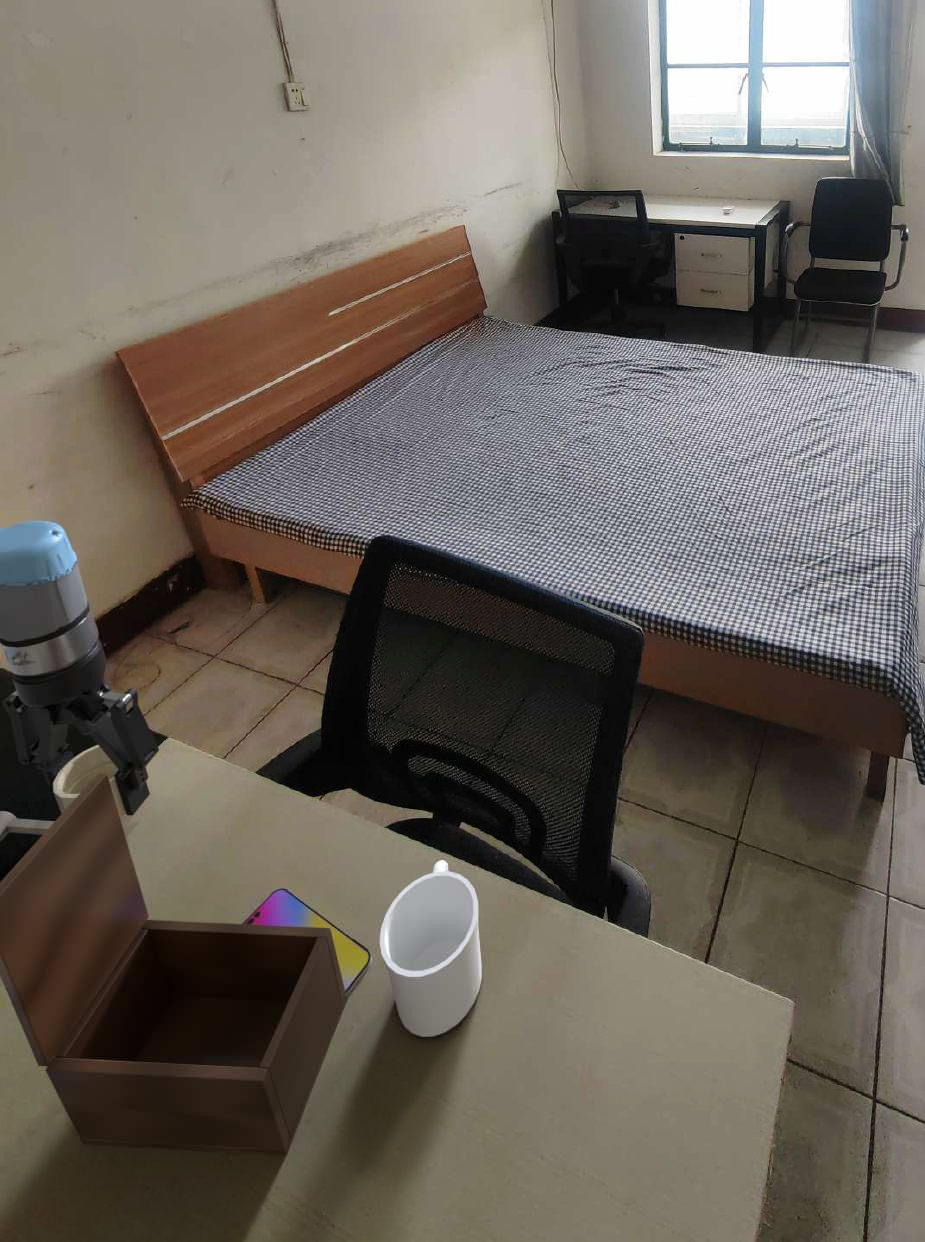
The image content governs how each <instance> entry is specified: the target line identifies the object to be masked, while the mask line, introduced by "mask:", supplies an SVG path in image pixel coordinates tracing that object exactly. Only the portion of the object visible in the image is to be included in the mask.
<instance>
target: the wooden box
mask: <svg viewBox="0 0 925 1242" xmlns="http://www.w3.org/2000/svg"><path fill="white" fill-rule="evenodd" d="M347 1001H348V996H346V992H345V988H344V984H343V980H342V976H341V971H340V967H339V963H338V959H337V954H336V950H335V946H334V942H333V937H332V933H331V929H330V928H318V927H296V926H274V925H252V924H242V923H227V922H209V921H208V922H205V921H185V920H161V919H160V920H159V919H147V920H146V922H145V923H144V925H143V926H142V928H141V929H140V931H139V932H138V933H137V935H136V936H135V938H134V939H133V941H132V942H131V944H130V945H129V947H128V948H127V950H126V951H125V953H124V954H123V956H122V957H121V959H120V960H119V962H118V963H117V965H116V966H115V968H114V969H113V971H112V972H111V974H110V975H109V977H108V978H107V979H106V981H105V982H104V984H103V985H102V987H101V988H100V990H99V991H98V993H97V994H96V996H95V997H94V999H93V1000H92V1002H91V1003H90V1005H89V1006H88V1008H87V1009H86V1011H85V1012H84V1014H83V1015H82V1017H81V1018H80V1020H79V1021H78V1022H77V1024H76V1025H75V1027H74V1028H73V1030H72V1031H71V1033H70V1034H69V1036H68V1037H67V1039H66V1040H65V1042H64V1043H63V1045H62V1046H61V1048H60V1049H59V1051H58V1052H57V1054H56V1055H55V1057H54V1058H53V1060H52V1061H51V1063H50V1064H49V1065H48V1066H47V1067H46V1068H45V1073H46V1075H47V1076H48V1079H49V1081H50V1082H51V1084H52V1086H53V1088H54V1091H55V1092H56V1094H57V1097H58V1098H59V1100H60V1102H61V1104H62V1106H63V1108H64V1110H65V1113H66V1114H67V1116H68V1118H69V1120H70V1122H71V1124H72V1126H73V1128H74V1130H75V1132H76V1135H77V1136H78V1138H79V1140H80V1143H81V1145H84V1146H85V1145H86V1146H87V1145H88V1146H104V1147H105V1146H106V1147H122V1148H123V1147H125V1148H140V1149H141V1148H143V1149H158V1150H159V1149H160V1150H161V1149H162V1150H177V1151H178V1150H179V1151H180V1150H181V1151H198V1152H216V1153H217V1152H218V1153H219V1152H220V1153H233V1154H234V1153H235V1154H236V1153H237V1154H251V1155H252V1154H253V1155H254V1154H255V1155H271V1156H272V1155H273V1156H287V1155H288V1152H289V1150H290V1147H291V1144H292V1142H293V1140H294V1137H295V1134H296V1132H297V1130H298V1127H299V1125H300V1122H301V1118H302V1116H303V1114H304V1111H305V1109H306V1107H307V1103H308V1102H309V1099H310V1096H311V1093H312V1091H313V1089H314V1085H315V1084H316V1080H317V1078H318V1075H319V1073H320V1070H321V1068H322V1065H323V1063H324V1060H325V1058H326V1056H327V1052H328V1049H329V1047H330V1045H331V1042H332V1040H333V1037H334V1034H335V1031H336V1029H337V1026H338V1024H339V1021H340V1019H341V1017H342V1015H343V1011H344V1009H345V1007H346V1003H347Z"/></svg>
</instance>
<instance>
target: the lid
mask: <svg viewBox="0 0 925 1242" xmlns="http://www.w3.org/2000/svg"><path fill="white" fill-rule="evenodd" d="M9 833H16V834H28V835H41V836H40V838H38V840H37V841H35V843H34V844H33V845H32V846H31V847H30V848H29V850H28V851H27V852H26V853H25V854H24V855H23V857H21V858H20V860H19V861H18V862H17V863H16V864H15V865H14V867H13V868H12V869H11V870H10V871H9V872H7V874H6V875H5V877H3V879H2V880H1V881H0V979H1V981H2V984H3V986H4V988H5V990H6V993H7V995H8V997H9V1000H10V1002H11V1005H12V1007H13V1009H14V1012H15V1014H16V1016H17V1019H18V1021H19V1023H20V1026H21V1029H22V1031H23V1033H24V1035H25V1038H26V1040H27V1042H28V1045H29V1046H30V1047H29V1048H30V1049H31V1052H32V1054H33V1057H34V1059H35V1062H36V1064H37V1066H38V1067H46V1068H47V1067H48V1065H49V1064H50V1063H51V1061H52V1060H53V1058H55V1055H56V1054H57V1052H58V1051H59V1049H60V1048H61V1046H62V1045H63V1043H64V1042H65V1040H66V1039H67V1037H68V1036H69V1034H70V1033H71V1031H72V1030H73V1028H74V1027H75V1025H76V1024H77V1022H78V1021H79V1020H80V1018H81V1017H82V1015H83V1014H84V1012H85V1011H86V1009H87V1008H88V1006H89V1005H90V1003H91V1002H92V1000H93V999H94V997H95V996H96V994H97V993H98V991H99V990H100V988H101V987H102V985H103V984H104V982H105V981H106V979H107V978H108V977H109V975H110V974H111V972H112V971H113V969H114V968H115V966H116V965H117V963H118V962H119V960H120V959H121V957H122V956H123V954H124V953H125V951H126V950H127V948H128V947H129V945H130V944H131V942H132V941H133V939H134V938H135V936H136V935H137V933H138V932H139V931H140V930H141V928H142V926H143V925H144V923H145V922H146V920H149V917H150V916H149V911H148V908H147V904H146V901H145V898H144V895H143V892H142V888H141V884H140V881H139V877H138V874H137V871H136V867H135V864H134V860H133V857H132V854H131V850H130V847H129V843H128V839H127V837H126V834H125V829H124V827H123V822H122V819H121V818H120V816H119V813H118V809H117V806H116V803H115V799H114V796H113V792H112V789H111V786H110V782H109V779H108V775H107V774H105V773H98V774H97V775H96V776H95V777H94V778H93V779H92V781H91V782H90V783H89V784H88V785H87V786H86V787H85V788H84V790H83V791H82V792H81V793H80V794H79V795H78V796H77V797H76V798H75V800H74V801H73V802H72V803H71V804H70V805H69V806H68V807H67V809H66V810H65V811H64V812H63V813H62V814H61V813H60V815H59V816H58V817H57V818H56V820H55V821H52V820H39V819H28V818H27V819H26V818H17V817H16V816H15V815H14V814H13V813H12V812H9V811H6V810H5V811H4V810H0V842H1V841H3V840H4V839H5V837H6V836H7V835H8V834H9Z"/></svg>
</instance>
